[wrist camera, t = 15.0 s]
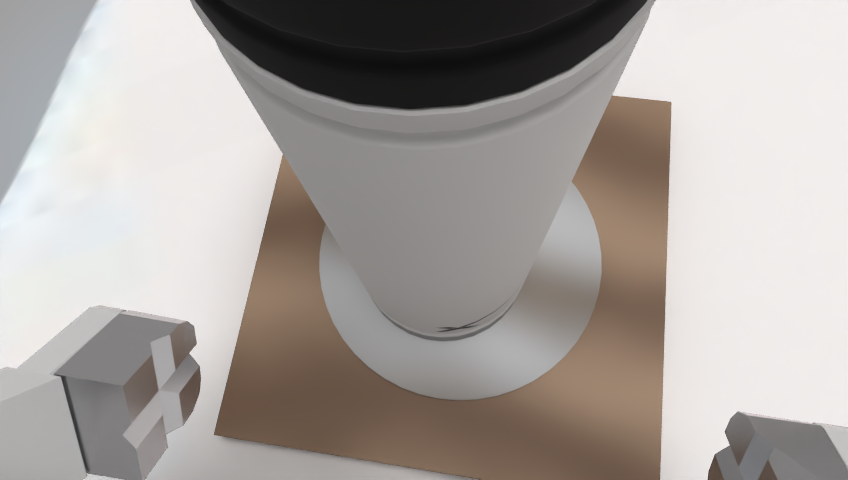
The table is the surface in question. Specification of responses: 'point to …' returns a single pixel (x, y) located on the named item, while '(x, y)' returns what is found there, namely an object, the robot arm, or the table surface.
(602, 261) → the board
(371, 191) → the travel mug
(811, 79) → the table surface
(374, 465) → the table surface
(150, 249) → the table surface
